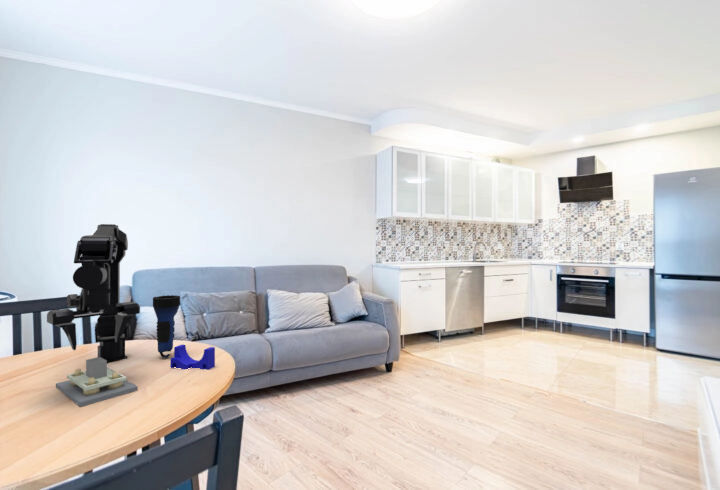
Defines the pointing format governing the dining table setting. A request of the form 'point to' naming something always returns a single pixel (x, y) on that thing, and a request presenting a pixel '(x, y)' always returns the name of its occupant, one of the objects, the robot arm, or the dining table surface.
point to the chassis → (94, 390)
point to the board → (98, 382)
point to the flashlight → (165, 321)
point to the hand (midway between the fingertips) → (96, 345)
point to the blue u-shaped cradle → (185, 361)
